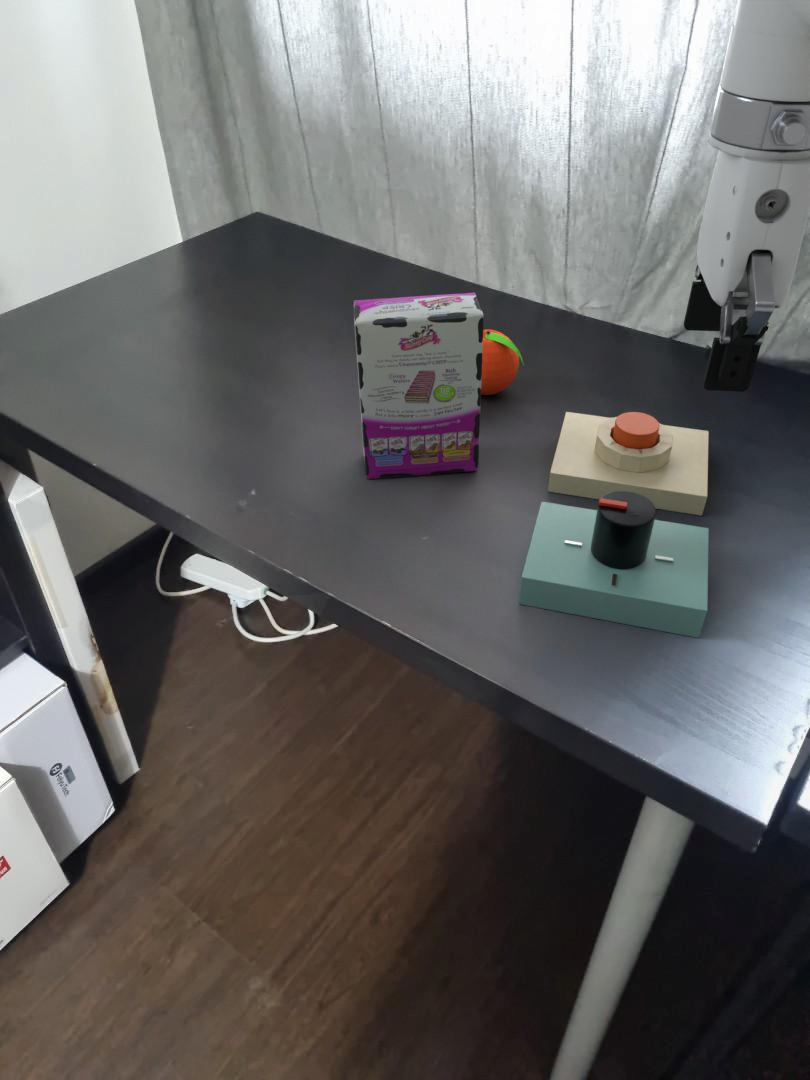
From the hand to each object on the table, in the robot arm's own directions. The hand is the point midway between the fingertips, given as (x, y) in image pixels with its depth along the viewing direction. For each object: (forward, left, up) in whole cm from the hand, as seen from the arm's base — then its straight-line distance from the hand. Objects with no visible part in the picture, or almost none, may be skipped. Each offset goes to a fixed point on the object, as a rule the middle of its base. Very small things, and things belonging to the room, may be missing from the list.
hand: (713, 357), depth 65 cm
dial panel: (+5, +10, -16) cm, 19 cm away
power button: (+5, -6, -12) cm, 14 cm away
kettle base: (+5, -6, -16) cm, 17 cm away
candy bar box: (+25, -2, -16) cm, 29 cm away
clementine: (+21, -17, -16) cm, 31 cm away
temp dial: (+5, +10, -13) cm, 17 cm away
